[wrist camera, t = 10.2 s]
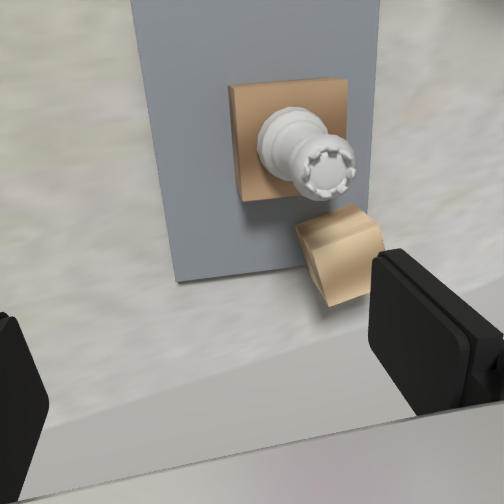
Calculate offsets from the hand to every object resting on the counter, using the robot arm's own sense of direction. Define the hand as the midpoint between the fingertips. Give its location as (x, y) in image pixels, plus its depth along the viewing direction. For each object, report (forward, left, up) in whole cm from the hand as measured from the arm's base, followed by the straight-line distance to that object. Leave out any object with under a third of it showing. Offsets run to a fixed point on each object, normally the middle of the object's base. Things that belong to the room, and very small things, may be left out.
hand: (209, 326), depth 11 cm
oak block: (+8, +10, -21) cm, 25 cm away
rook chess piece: (-1, +6, -17) cm, 18 cm away
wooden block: (-1, +6, -21) cm, 22 cm away
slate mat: (0, +5, -22) cm, 22 cm away
